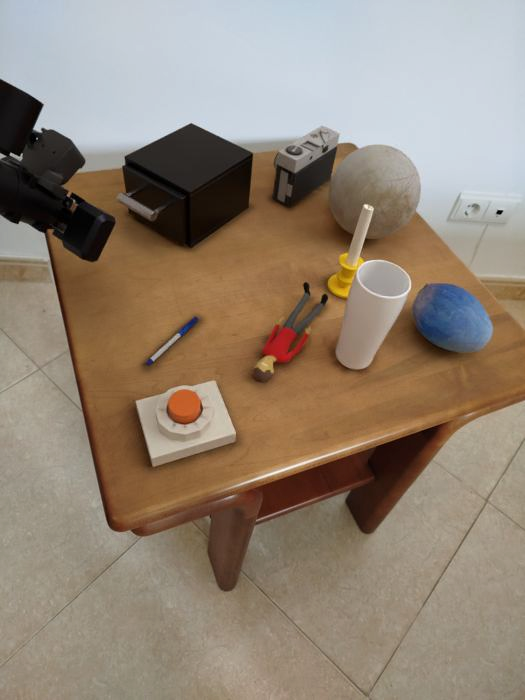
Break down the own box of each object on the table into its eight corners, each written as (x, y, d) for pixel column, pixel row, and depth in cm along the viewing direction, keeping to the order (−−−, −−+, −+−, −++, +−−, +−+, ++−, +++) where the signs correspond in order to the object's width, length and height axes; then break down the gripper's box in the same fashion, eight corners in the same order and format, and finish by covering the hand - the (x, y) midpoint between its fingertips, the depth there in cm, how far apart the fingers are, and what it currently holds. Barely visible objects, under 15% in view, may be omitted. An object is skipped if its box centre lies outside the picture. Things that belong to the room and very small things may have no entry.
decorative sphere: (392, 206, 93) (419, 129, 81) (413, 258, 84) (447, 180, 72) (315, 202, 91) (332, 124, 79) (328, 255, 82) (348, 175, 70)
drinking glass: (385, 368, 68) (423, 291, 56) (343, 381, 66) (373, 303, 54) (362, 333, 71) (393, 254, 60) (321, 344, 69) (345, 264, 58)
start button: (173, 427, 55) (172, 419, 53) (165, 401, 57) (164, 393, 55) (204, 418, 56) (204, 410, 54) (195, 394, 58) (195, 385, 56)
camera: (298, 163, 99) (306, 114, 91) (331, 180, 96) (343, 131, 89) (255, 190, 92) (260, 139, 84) (290, 209, 89) (298, 158, 81)
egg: (424, 246, 69) (515, 309, 64) (418, 275, 77) (499, 334, 71) (382, 287, 68) (471, 355, 63) (380, 313, 76) (459, 375, 71)
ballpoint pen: (194, 317, 70) (194, 313, 69) (199, 320, 70) (199, 316, 69) (145, 364, 64) (145, 360, 63) (151, 368, 64) (150, 363, 63)
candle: (341, 271, 80) (366, 187, 68) (366, 288, 78) (396, 205, 65) (320, 285, 77) (342, 200, 65) (345, 303, 75) (373, 220, 63)
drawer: (165, 258, 76) (162, 210, 69) (110, 224, 80) (101, 176, 73) (238, 207, 86) (241, 161, 80) (186, 179, 90) (184, 133, 83)
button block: (152, 467, 55) (149, 451, 52) (137, 410, 60) (133, 392, 57) (235, 442, 58) (237, 425, 55) (214, 389, 63) (215, 371, 60)
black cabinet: (191, 248, 80) (189, 191, 71) (131, 213, 84) (124, 156, 76) (248, 207, 88) (253, 152, 80) (192, 177, 92) (191, 122, 84)
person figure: (331, 286, 71) (271, 368, 60) (333, 307, 73) (276, 389, 63) (300, 280, 73) (237, 358, 63) (303, 301, 76) (243, 379, 65)
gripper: (89, 153, 50) (169, 201, 65) (-23, 90, 56) (74, 147, 70) (43, 249, 52) (131, 275, 66) (-61, 179, 57) (41, 216, 72)
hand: (94, 225), depth 69 cm, fingers closed
